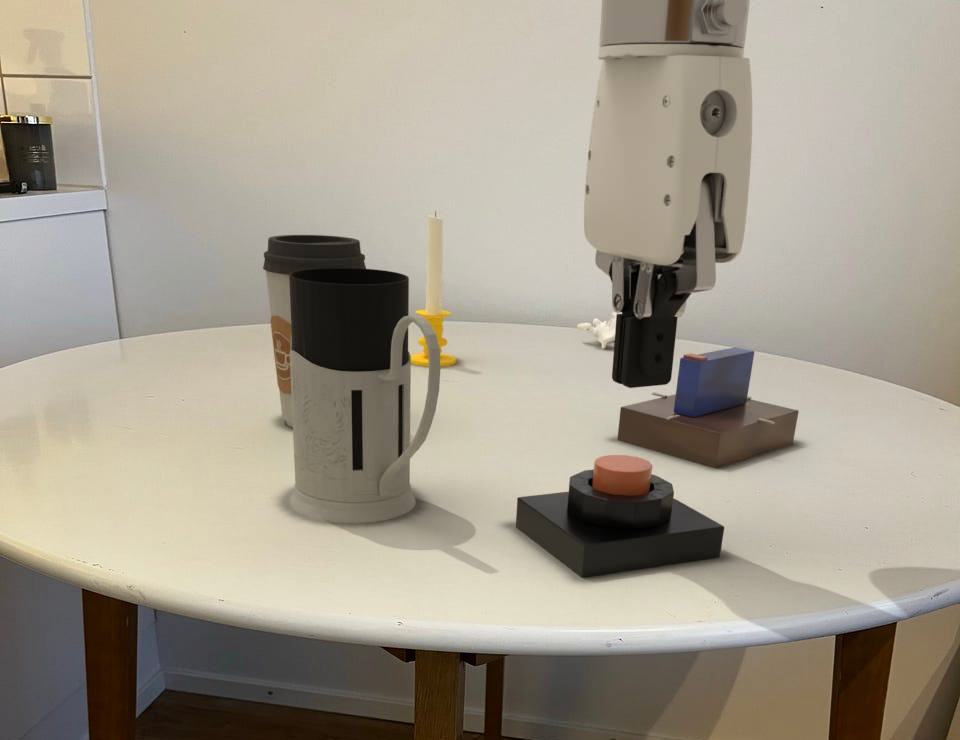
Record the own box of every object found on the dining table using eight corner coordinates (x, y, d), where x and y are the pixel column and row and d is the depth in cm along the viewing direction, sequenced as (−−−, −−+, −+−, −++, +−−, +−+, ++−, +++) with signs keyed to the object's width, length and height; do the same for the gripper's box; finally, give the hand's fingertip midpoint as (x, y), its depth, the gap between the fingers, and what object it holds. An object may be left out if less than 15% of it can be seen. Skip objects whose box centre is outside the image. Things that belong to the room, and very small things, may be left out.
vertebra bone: (621, 307, 129) (660, 310, 124) (620, 342, 130) (657, 346, 125) (574, 310, 124) (612, 314, 119) (573, 346, 126) (610, 351, 121)
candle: (456, 358, 115) (461, 210, 108) (454, 368, 110) (459, 213, 103) (410, 356, 115) (412, 207, 108) (406, 366, 110) (408, 211, 103)
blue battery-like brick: (727, 399, 90) (735, 344, 88) (746, 403, 88) (755, 348, 86) (673, 412, 85) (680, 354, 82) (692, 417, 83) (700, 359, 81)
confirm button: (629, 478, 66) (632, 452, 65) (660, 495, 63) (663, 468, 63) (581, 484, 65) (584, 457, 64) (610, 501, 62) (613, 474, 61)
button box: (642, 512, 71) (649, 457, 69) (719, 559, 64) (729, 498, 62) (515, 528, 67) (518, 470, 66) (581, 580, 60) (587, 516, 58)
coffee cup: (253, 419, 89) (242, 235, 82) (334, 407, 94) (330, 232, 87) (303, 442, 83) (296, 247, 76) (386, 427, 88) (386, 243, 81)
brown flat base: (688, 417, 96) (693, 383, 94) (804, 447, 88) (811, 411, 87) (606, 438, 88) (609, 402, 86) (725, 473, 80) (731, 434, 79)
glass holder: (374, 475, 76) (372, 264, 69) (488, 534, 66) (499, 294, 59) (267, 494, 71) (254, 269, 65) (372, 561, 61) (370, 303, 55)
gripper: (828, 22, 48) (770, 407, 57) (654, 39, 60) (628, 354, 69) (696, 13, 45) (656, 420, 54) (542, 33, 57) (529, 362, 66)
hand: (641, 382), depth 61 cm, fingers closed
